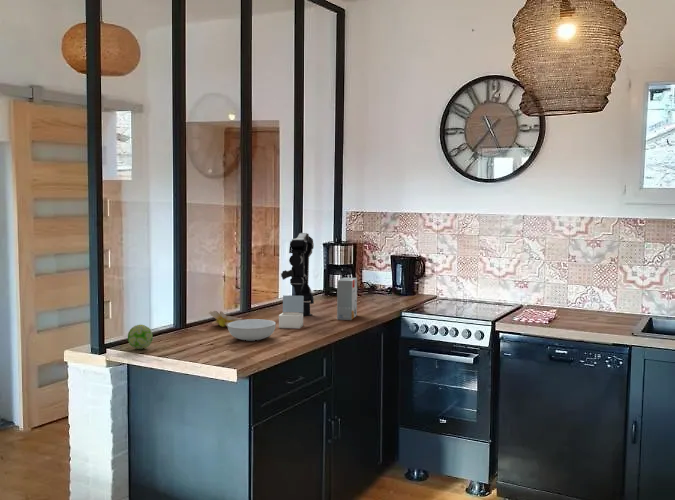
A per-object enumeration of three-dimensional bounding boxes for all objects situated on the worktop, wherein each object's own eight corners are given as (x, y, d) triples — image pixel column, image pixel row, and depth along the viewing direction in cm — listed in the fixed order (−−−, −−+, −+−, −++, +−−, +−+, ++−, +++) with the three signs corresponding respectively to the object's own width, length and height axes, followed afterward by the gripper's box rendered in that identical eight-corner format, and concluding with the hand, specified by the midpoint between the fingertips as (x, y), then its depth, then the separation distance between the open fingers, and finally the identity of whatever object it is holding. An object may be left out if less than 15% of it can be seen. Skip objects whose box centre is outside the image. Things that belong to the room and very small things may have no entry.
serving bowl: (223, 336, 304) (223, 320, 304) (269, 332, 312) (268, 317, 311) (233, 345, 285) (232, 329, 284) (281, 341, 292) (281, 325, 292)
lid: (282, 312, 330) (283, 312, 331) (303, 312, 328) (303, 312, 329) (282, 295, 330) (283, 295, 331) (303, 295, 328) (303, 295, 329)
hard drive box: (351, 320, 341) (351, 281, 340) (336, 320, 343) (336, 280, 341) (357, 315, 357) (357, 277, 355) (342, 314, 358) (342, 277, 357)
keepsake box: (282, 324, 330) (282, 312, 330) (303, 325, 329) (303, 313, 328) (279, 327, 322) (278, 315, 322) (299, 328, 321) (299, 315, 321)
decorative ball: (122, 349, 277) (122, 325, 276) (142, 345, 285) (141, 321, 284) (139, 352, 271) (138, 328, 270) (158, 348, 279) (157, 324, 279)
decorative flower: (248, 322, 328) (243, 302, 325) (231, 331, 319) (226, 311, 317) (226, 321, 337) (221, 302, 335) (210, 329, 328) (205, 310, 326)
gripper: (284, 262, 344) (284, 293, 346) (279, 266, 326) (279, 298, 327) (306, 262, 344) (306, 293, 345) (302, 266, 325) (302, 298, 326)
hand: (298, 296), depth 336 cm, fingers open, 9 cm apart
